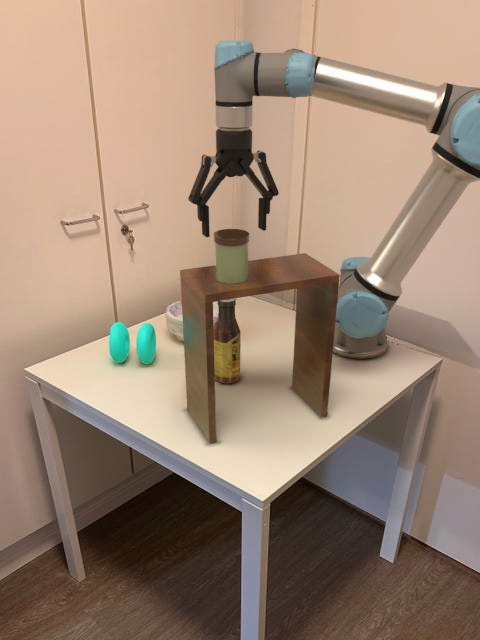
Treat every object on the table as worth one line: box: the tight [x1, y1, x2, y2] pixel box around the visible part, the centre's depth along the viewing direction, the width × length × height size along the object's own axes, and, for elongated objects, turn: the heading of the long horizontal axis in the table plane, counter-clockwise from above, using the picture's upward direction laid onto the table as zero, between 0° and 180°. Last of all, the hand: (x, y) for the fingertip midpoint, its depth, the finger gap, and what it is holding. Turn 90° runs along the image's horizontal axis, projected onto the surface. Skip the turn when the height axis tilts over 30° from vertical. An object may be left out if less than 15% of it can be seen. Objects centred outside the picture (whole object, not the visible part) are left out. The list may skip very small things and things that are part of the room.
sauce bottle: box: [214, 298, 242, 385], centre depth 145 cm, size 6×6×20 cm
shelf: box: [179, 252, 340, 444], centre depth 129 cm, size 27×14×32 cm, turn 113°
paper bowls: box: [165, 299, 219, 343], centre depth 168 cm, size 15×15×8 cm
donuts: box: [108, 321, 157, 365], centre depth 155 cm, size 10×10×10 cm
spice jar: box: [213, 228, 250, 284], centre depth 115 cm, size 6×6×8 cm
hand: (234, 232), depth 141 cm, fingers open, 13 cm apart
